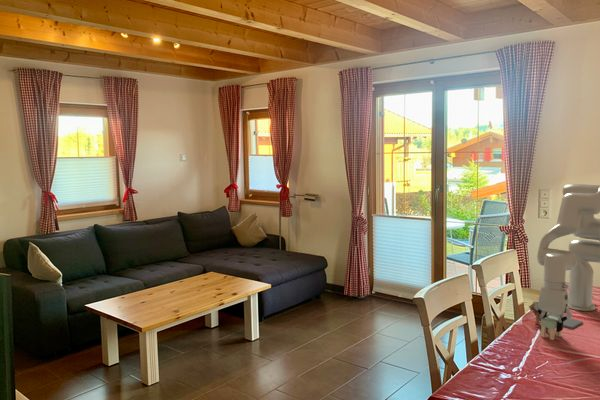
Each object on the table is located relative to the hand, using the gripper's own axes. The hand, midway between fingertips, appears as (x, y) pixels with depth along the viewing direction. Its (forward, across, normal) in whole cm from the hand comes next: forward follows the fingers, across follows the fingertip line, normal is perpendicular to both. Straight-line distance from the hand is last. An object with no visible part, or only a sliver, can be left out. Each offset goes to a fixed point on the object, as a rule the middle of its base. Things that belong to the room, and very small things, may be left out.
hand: (551, 328), depth 191 cm
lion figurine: (+3, +8, -7) cm, 11 cm away
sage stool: (+3, 0, +1) cm, 3 cm away
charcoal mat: (+3, +5, -18) cm, 19 cm away
